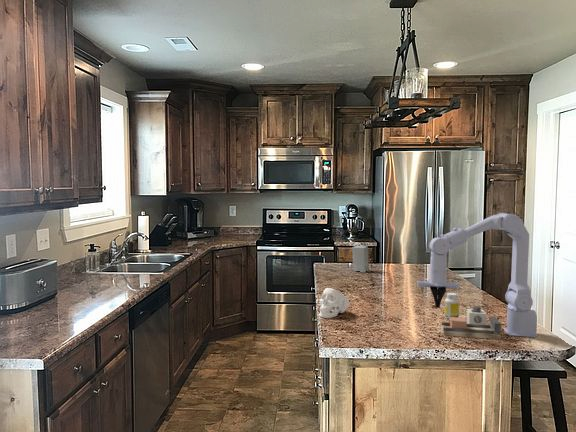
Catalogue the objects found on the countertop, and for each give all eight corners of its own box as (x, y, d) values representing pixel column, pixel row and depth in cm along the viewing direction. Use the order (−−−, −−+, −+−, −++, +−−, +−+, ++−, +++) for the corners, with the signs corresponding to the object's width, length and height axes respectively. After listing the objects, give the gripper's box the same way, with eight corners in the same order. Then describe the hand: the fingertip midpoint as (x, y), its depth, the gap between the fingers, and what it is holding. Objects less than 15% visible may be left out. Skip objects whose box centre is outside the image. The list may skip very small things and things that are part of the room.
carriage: (464, 326, 174) (464, 317, 173) (466, 330, 169) (466, 321, 168) (450, 325, 175) (450, 317, 175) (451, 329, 170) (452, 320, 170)
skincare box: (368, 271, 295) (369, 246, 294) (364, 273, 289) (364, 247, 288) (356, 269, 299) (356, 245, 298) (351, 271, 293) (352, 246, 292)
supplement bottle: (460, 317, 192) (461, 293, 191) (455, 320, 187) (455, 296, 187) (447, 315, 195) (448, 291, 194) (442, 317, 191) (442, 294, 190)
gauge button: (479, 319, 182) (479, 306, 181) (480, 321, 179) (481, 308, 179) (471, 319, 182) (472, 306, 182) (473, 321, 180) (473, 308, 179)
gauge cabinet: (483, 323, 183) (483, 309, 183) (486, 328, 177) (486, 314, 177) (466, 322, 184) (467, 308, 184) (469, 327, 178) (469, 313, 178)
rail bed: (495, 331, 173) (495, 316, 173) (500, 339, 165) (501, 323, 164) (441, 327, 177) (441, 313, 177) (443, 335, 169) (444, 320, 168)
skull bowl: (308, 312, 193) (318, 285, 197) (326, 324, 202) (335, 298, 206) (328, 317, 186) (338, 288, 190) (346, 329, 195) (355, 302, 199)
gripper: (418, 271, 170) (417, 308, 170) (460, 273, 166) (459, 311, 167) (417, 268, 176) (416, 304, 177) (458, 269, 173) (457, 306, 174)
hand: (437, 307), depth 173 cm, fingers closed
